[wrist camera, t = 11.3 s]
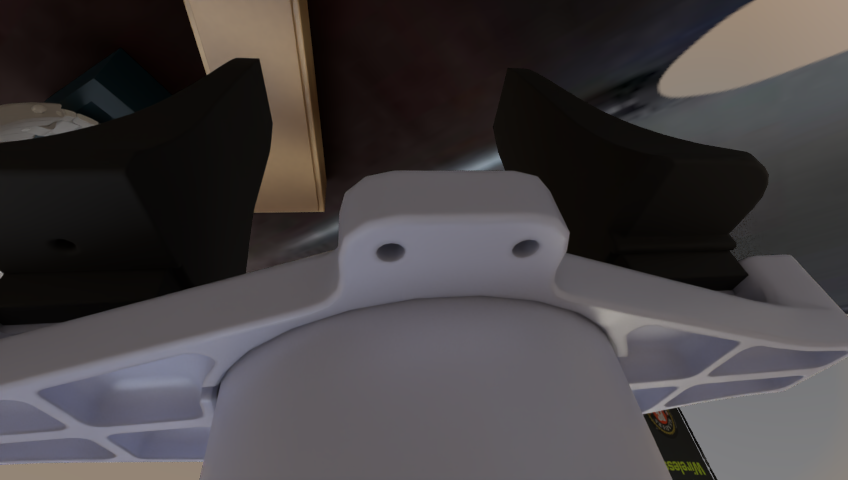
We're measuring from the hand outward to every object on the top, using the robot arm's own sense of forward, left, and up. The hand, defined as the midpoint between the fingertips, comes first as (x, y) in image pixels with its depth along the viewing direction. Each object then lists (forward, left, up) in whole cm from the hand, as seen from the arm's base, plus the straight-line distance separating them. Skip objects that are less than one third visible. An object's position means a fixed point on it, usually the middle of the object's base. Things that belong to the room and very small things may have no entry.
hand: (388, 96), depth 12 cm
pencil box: (-5, +6, -10) cm, 13 cm away
